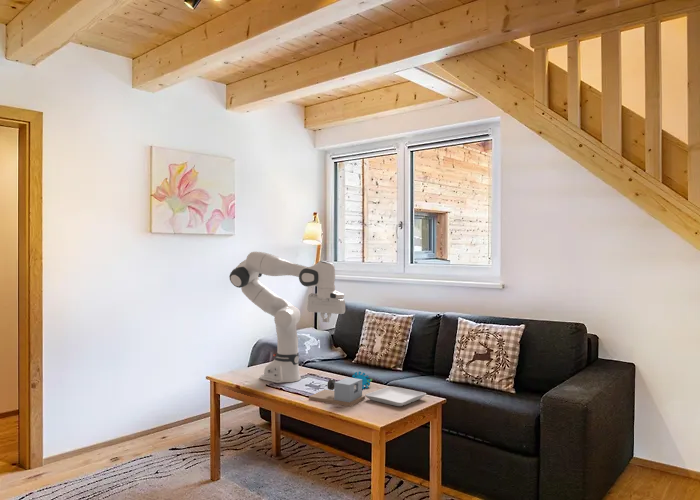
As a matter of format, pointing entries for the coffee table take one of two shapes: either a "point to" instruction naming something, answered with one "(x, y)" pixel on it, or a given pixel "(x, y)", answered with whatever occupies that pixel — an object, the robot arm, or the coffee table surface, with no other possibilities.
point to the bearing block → (341, 393)
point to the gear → (363, 379)
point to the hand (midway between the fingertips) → (325, 322)
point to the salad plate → (395, 396)
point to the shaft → (331, 385)
